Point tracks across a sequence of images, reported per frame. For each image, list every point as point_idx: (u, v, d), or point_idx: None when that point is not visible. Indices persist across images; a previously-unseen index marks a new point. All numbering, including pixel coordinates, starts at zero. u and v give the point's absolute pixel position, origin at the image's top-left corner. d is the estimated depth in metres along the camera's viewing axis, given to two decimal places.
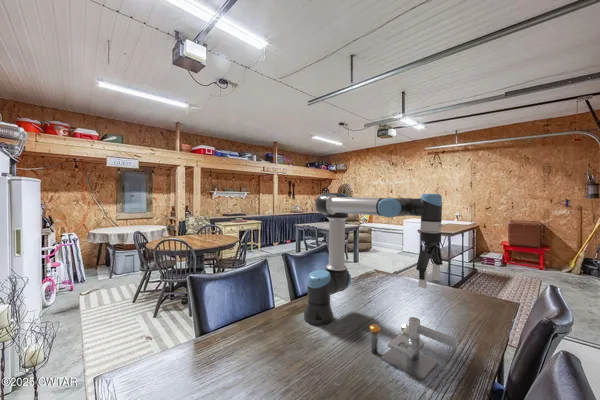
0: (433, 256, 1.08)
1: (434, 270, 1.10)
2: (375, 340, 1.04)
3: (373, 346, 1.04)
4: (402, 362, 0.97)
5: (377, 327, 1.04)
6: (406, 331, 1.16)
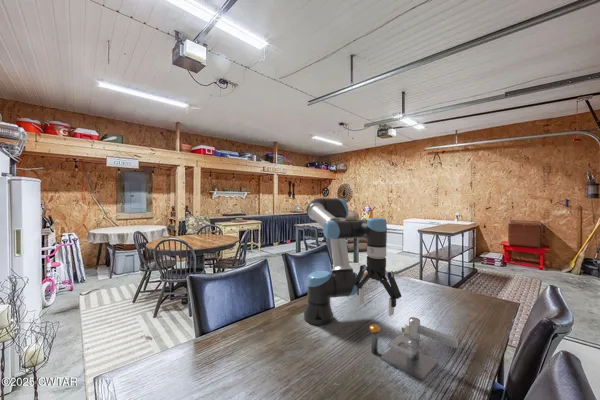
0: None
1: None
2: (375, 340, 1.04)
3: (373, 346, 1.04)
4: (402, 362, 0.97)
5: (377, 327, 1.04)
6: (407, 331, 1.15)
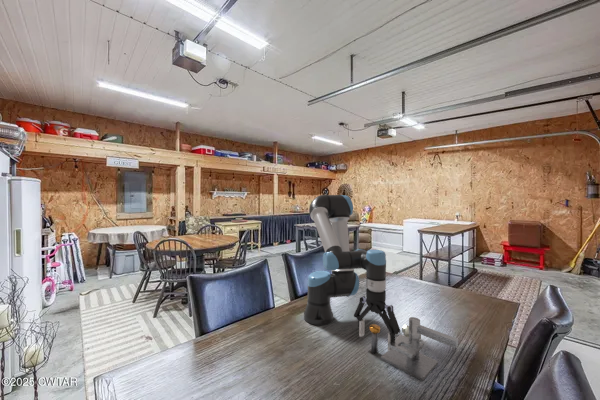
0: None
1: None
2: (375, 340, 1.04)
3: (373, 346, 1.04)
4: (402, 362, 0.97)
5: (377, 327, 1.04)
6: (408, 332, 1.15)
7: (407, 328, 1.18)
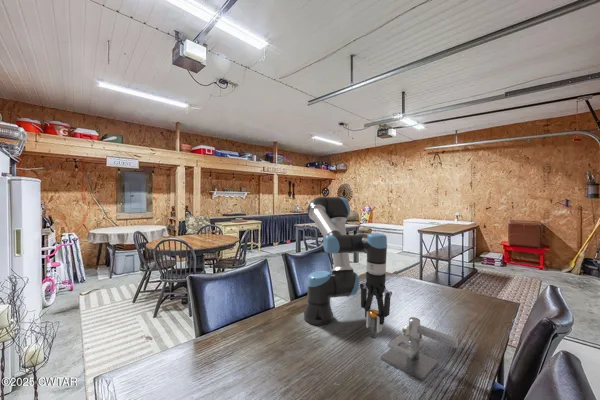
0: None
1: None
2: (374, 325, 1.04)
3: (372, 331, 1.05)
4: (402, 362, 0.97)
5: (377, 312, 1.04)
6: None
7: (408, 328, 1.18)
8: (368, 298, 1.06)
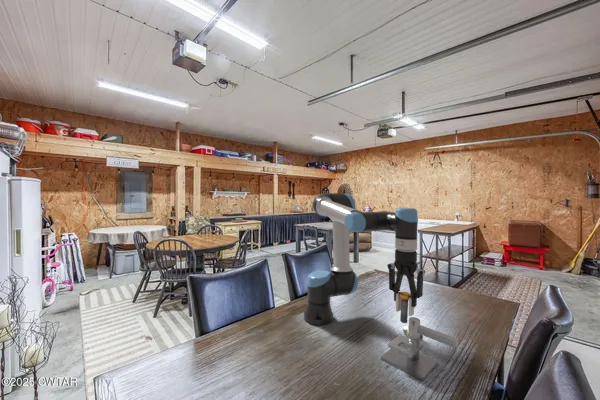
0: None
1: None
2: (405, 308, 0.95)
3: (403, 314, 0.95)
4: (402, 362, 0.97)
5: (408, 294, 0.95)
6: None
7: None
8: (397, 279, 0.97)
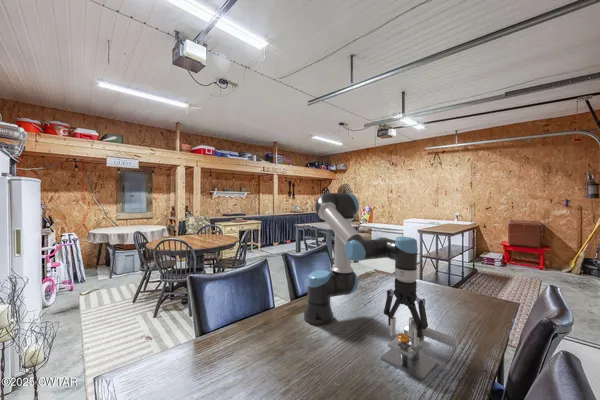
0: None
1: None
2: None
3: (403, 357, 0.95)
4: None
5: (406, 336, 0.96)
6: None
7: None
8: (394, 306, 0.98)
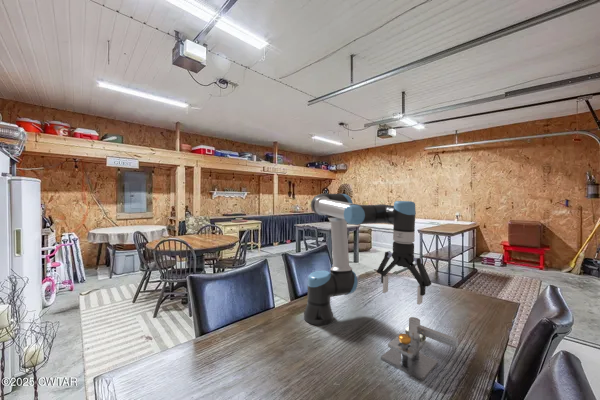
0: None
1: None
2: None
3: (403, 358, 0.95)
4: None
5: (407, 337, 0.95)
6: None
7: None
8: (390, 266, 1.00)
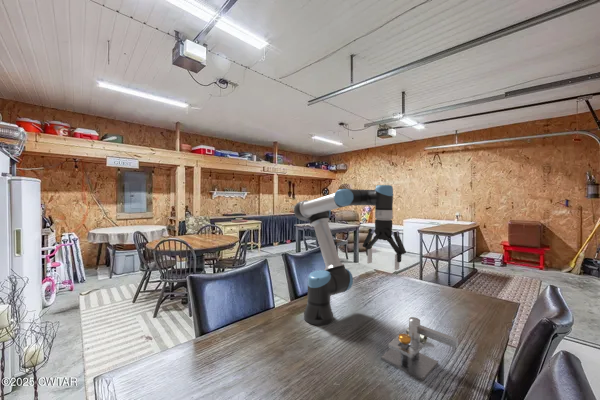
0: None
1: None
2: None
3: (403, 358, 0.95)
4: None
5: (407, 337, 0.95)
6: None
7: None
8: (373, 240, 1.20)
